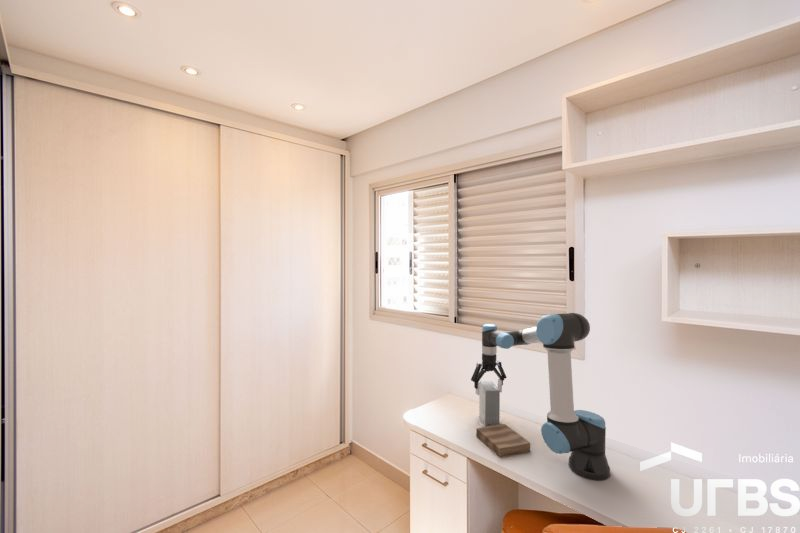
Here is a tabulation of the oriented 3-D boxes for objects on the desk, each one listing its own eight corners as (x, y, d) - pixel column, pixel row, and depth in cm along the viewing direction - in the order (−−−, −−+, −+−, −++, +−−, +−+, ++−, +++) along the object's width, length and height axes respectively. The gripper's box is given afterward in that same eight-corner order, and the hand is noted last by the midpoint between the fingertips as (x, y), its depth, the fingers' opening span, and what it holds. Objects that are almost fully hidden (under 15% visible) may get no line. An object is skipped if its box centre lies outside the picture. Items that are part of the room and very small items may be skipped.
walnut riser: (530, 451, 160) (530, 442, 160) (499, 457, 155) (499, 448, 155) (504, 431, 179) (504, 423, 179) (476, 436, 174) (476, 428, 174)
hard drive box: (499, 429, 181) (500, 390, 181) (484, 429, 181) (485, 390, 181) (492, 416, 196) (492, 380, 196) (478, 416, 197) (478, 380, 196)
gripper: (505, 349, 196) (504, 387, 196) (464, 353, 188) (464, 392, 189) (513, 353, 189) (512, 392, 189) (471, 357, 181) (471, 398, 181)
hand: (488, 393), depth 189 cm, fingers open, 13 cm apart
